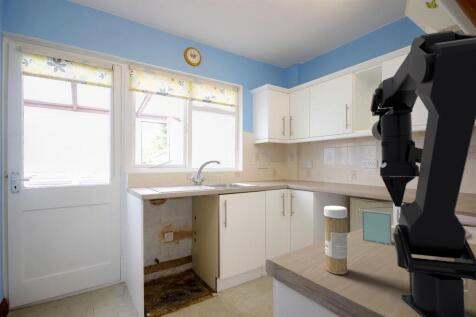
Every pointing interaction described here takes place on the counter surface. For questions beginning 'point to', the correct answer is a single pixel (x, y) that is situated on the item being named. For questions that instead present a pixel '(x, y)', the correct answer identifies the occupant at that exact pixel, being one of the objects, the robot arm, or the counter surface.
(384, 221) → the tile
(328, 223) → the sprinkles bottle
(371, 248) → the counter surface
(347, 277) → the counter surface
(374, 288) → the counter surface
